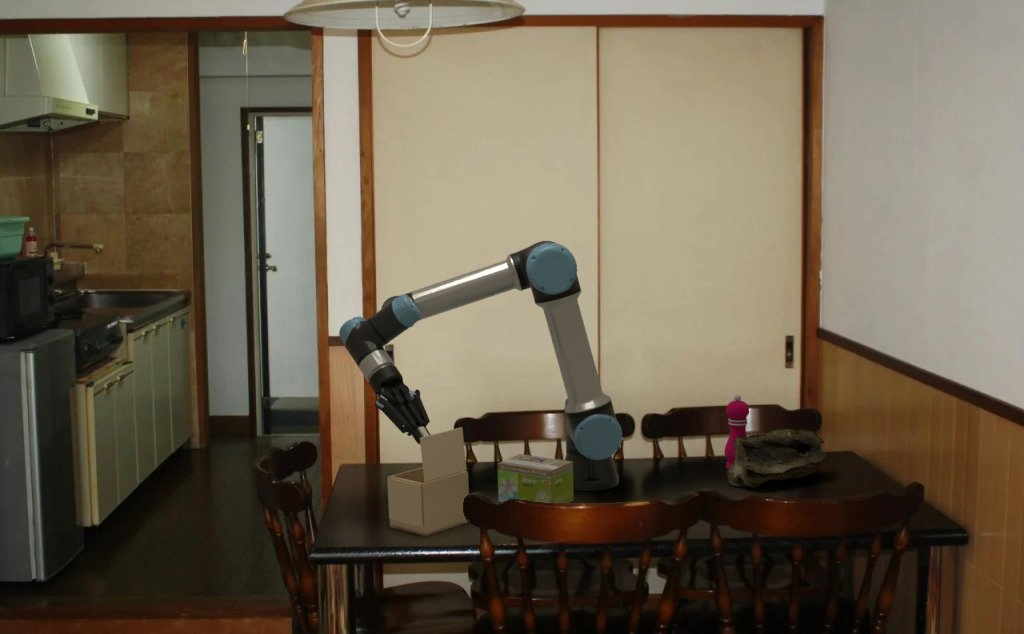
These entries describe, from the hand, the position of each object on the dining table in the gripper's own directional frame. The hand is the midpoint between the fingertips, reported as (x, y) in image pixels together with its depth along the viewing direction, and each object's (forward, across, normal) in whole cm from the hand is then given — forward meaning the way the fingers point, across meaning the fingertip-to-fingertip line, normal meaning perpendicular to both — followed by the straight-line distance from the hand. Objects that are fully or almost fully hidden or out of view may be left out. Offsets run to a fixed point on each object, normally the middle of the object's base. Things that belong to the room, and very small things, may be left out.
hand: (432, 452), depth 277 cm
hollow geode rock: (+42, -80, +17) cm, 93 cm away
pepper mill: (+31, -86, +6) cm, 92 cm away
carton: (+11, 0, -14) cm, 18 cm away
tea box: (+24, -16, -1) cm, 29 cm away
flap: (+7, 0, -1) cm, 7 cm away
